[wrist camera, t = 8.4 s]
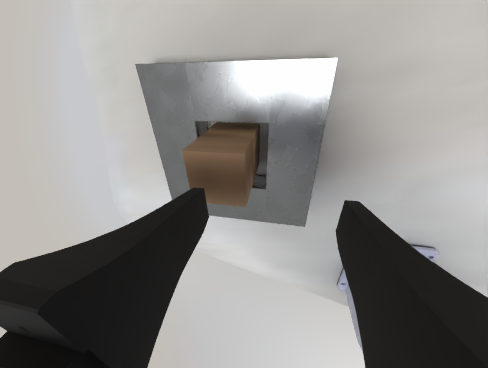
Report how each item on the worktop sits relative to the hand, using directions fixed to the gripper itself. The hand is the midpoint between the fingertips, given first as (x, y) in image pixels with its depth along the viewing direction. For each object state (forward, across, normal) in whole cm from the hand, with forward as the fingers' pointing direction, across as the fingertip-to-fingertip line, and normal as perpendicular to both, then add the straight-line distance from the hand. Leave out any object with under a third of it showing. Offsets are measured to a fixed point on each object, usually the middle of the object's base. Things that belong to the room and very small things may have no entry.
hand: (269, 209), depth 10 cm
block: (+9, +4, 0) cm, 10 cm away
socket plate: (+9, +4, 0) cm, 10 cm away
